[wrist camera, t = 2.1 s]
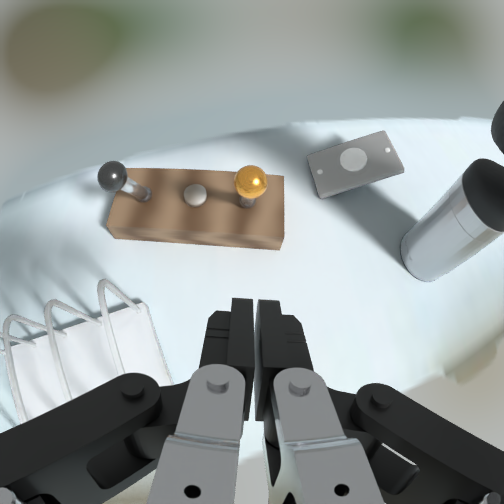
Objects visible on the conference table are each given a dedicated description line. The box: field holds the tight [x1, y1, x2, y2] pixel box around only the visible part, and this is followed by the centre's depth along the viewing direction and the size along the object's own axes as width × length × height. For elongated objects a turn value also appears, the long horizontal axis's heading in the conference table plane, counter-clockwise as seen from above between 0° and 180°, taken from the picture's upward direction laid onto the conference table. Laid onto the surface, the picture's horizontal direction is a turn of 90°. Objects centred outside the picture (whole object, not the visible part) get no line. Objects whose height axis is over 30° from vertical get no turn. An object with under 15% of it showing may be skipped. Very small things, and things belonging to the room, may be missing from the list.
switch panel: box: [106, 168, 284, 250], centre depth 42 cm, size 24×10×5 cm, turn 87°
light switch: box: [307, 131, 404, 199], centre depth 47 cm, size 8×6×14 cm
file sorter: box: [0, 279, 174, 424], centre depth 26 cm, size 25×17×16 cm
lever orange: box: [234, 165, 268, 208], centre depth 34 cm, size 3×3×14 cm
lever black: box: [98, 161, 152, 203], centre depth 33 cm, size 3×3×14 cm
